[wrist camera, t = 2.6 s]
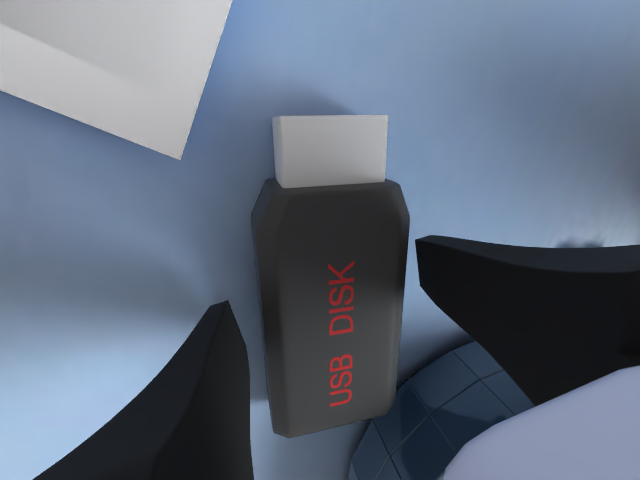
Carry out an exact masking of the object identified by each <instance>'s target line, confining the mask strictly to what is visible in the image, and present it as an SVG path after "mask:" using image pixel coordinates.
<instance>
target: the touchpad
mask: <svg viewBox="0 0 640 480" xmlns="http://www.w3.org/2000/svg"><path fill="white" fill-rule="evenodd" d="M232 1H233V0H0V90H1V91H3V92H6V93H8V94H11V95H14V96H16V97H19V98H21V99H24V100H26V101H29V102H32V103H34V104H37V105H39V106H42V107H44V108H47V109H50V110H52V111H55V112H57V113H60V114H62V115H65V116H68V117H70V118H73V119H75V120H78V121H80V122H83V123H86V124H88V125H91V126H93V127H96V128H98V129H101V130H104V131H106V132H109V133H111V134H114V135H116V136H119V137H122V138H124V139H127V140H129V141H132V142H134V143H137V144H140V145H142V146H145V147H147V148H150V149H152V150H155V151H158V152H160V153H163V154H165V155H168V156H170V157H173V158H175V159H178V160H181V157H182V154H183V151H184V147H185V144H186V141H187V138H188V135H189V132H190V129H191V126H192V123H193V120H194V117H195V114H196V111H197V108H198V105H199V102H200V99H201V96H202V93H203V90H204V87H205V84H206V80H207V77H208V74H209V71H210V68H211V65H212V62H213V59H214V56H215V53H216V50H217V47H218V44H219V41H220V38H221V35H222V32H223V29H224V26H225V23H226V20H227V16H228V13H229V10H230V7H231V4H232Z"/></svg>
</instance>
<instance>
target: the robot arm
mask: <svg viewBox="0 0 640 480" xmlns="http://www.w3.org/2000/svg"><path fill="white" fill-rule="evenodd" d="M415 244H416V253H417V262H418V271H419V280H420V286H421V287H422V289H423V290H424V291H425V292H426V294H427V295H428V296H429V297H430V299H431V300H432V301H433V302H434V303H435V304H436V305H437V306H438V307H439V308H440V309H441V310H442V311H443V312H444V313H445V314H446V315H448V316H449V317H450V318H451V319H452V320H453V321H454V322H455V323H456V324H458V325H459V326H460V327H461V328H462V329H463V330H464V331H465V332H467V333H468V334H469V335H470V336H471V337H472V338H473V339H474V340H475V341H477V342H478V343H479V344H480V345H481V346H482V347H483V348H484V349H485V350H486V351H487V352H488V353H489V354H490V355H491V356H492V357H493V358H494V359H495V361H496V362H497V363H498V364H499V365H500V366H501V367H502V368H503V369H504V370H505V372H506V373H507V374H508V375H509V376H510V377H511V378H512V380H513V381H514V382H515V383H516V384H517V385H518V387H519V388H520V389H521V390H522V391H523V392H524V394H525V395H526V396H527V397H528V398H529V399H530V401H531V402H532V403H533V404H534V406H535V407H534V408H532V409H529V410H527V411H525V412H523V413H520V414H518V415H516V416H513V417H511V418H509V419H507V420H504V421H502V422H500V423H498V424H495V425H493V426H492V427H490V428H489V429H487V430H486V431H484V432H483V433H481V434H479V435H478V436H476V437H475V438H473V439H472V440H470V441H469V442H467V443H466V444H465V445H464V446H463V447H462V449H461V450H460V451H459V452H458V454H457V455H456V456H455V457H454V459H453V460H452V461H451V462H450V464H449V465H448V466H447V467H446V469H445V473H444V478H443V480H640V245H629V246H616V247H598V248H541V247H523V246H512V245H503V244H494V243H487V242H480V241H473V240H466V239H460V238H453V237H446V236H436V235H429V236H426V237H423V238H420V239H417V240H415ZM33 480H254V476H253V466H252V457H251V446H250V371H249V363H248V356H247V349H246V345H245V342H244V340H243V337H242V335H241V332H240V329H239V327H238V324H237V322H236V319H235V317H234V314H233V312H232V309H231V306H230V304H229V301H228V300H227V301H224V302H221V303H218V304H215V305H211V306H210V307H209V308H208V310H207V311H206V312H205V314H204V315H203V317H202V318H201V320H200V321H199V322H198V324H197V325H196V327H195V328H194V330H193V331H192V332H191V334H190V335H189V337H188V338H187V339H186V341H185V342H184V343H183V345H182V346H181V347H180V348H179V350H178V351H177V352H176V353H175V355H174V356H173V357H172V358H171V360H170V361H169V362H168V363H167V365H166V366H165V367H164V368H163V369H162V370H161V371H160V372H159V374H158V375H157V376H156V377H155V378H154V379H153V380H152V381H151V382H150V383H149V384H148V385H147V386H146V387H145V388H144V389H143V390H142V391H141V392H140V393H139V394H138V395H137V396H136V397H135V398H134V399H133V400H132V401H131V402H130V403H128V404H127V405H126V406H125V407H124V408H123V409H122V410H121V411H120V412H119V413H118V414H116V415H115V416H114V417H113V418H112V419H111V420H110V421H109V422H107V423H106V424H105V425H104V426H103V427H101V428H100V429H99V430H98V431H97V432H95V433H94V434H93V435H92V436H91V437H89V438H88V439H87V440H85V441H84V442H83V443H82V444H80V445H79V446H78V447H77V448H75V449H74V450H73V451H71V452H70V453H69V454H67V455H66V456H65V457H63V458H62V459H61V460H59V461H58V462H57V463H55V464H54V465H53V466H51V467H50V468H48V469H47V470H45V471H44V472H43V473H41V474H40V475H38V476H37V477H35V478H34V479H33Z"/></svg>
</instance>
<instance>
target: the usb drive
mask: <svg viewBox="0 0 640 480" xmlns="http://www.w3.org/2000/svg"><path fill="white" fill-rule="evenodd" d="M272 128H273V144H274V159H275V174H276V179H267V180H266V181H265V182H264V185H263V187H262V189H261V192H260V194H259V196H258V199H257V201H256V203H255V206H254V208H253V211H252V214H251V222H252V234H253V245H254V255H255V266H256V276H257V286H258V297H259V307H260V317H261V328H262V338H263V348H264V359H265V369H266V380H267V390H268V399H269V407H270V415H271V422H272V428H273V432H274V433H275V434H279V435H281V436H284V437H287V438H293V437H297V436H301V435H306V434H310V433H314V432H318V431H322V430H326V429H330V428H334V427H338V426H342V425H346V424H350V423H354V422H359V421H363V420H367V419H371V418H375V417H379V416H383V415H385V414H387V412H388V411H389V410H390V408H391V407H392V406H393V404H394V401H395V394H396V385H397V372H398V360H399V348H400V336H401V323H402V311H403V299H404V287H405V274H406V262H407V250H408V237H409V223H410V217H409V212H408V209H407V206H406V203H405V200H404V197H403V193H402V190H401V187H400V185H399V184H397V183H396V182H393V181H390V180H387V179H385V170H386V150H387V131H388V115H318V116H277V117H273V118H272Z"/></svg>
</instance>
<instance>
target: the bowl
mask: <svg viewBox="0 0 640 480" xmlns="http://www.w3.org/2000/svg"><path fill="white" fill-rule="evenodd" d="M534 407H535V406H534V404H533V403H532V402H531V401H530V399H529V398H528V397H527V396H526V395H525V394H524V392H523V391H522V390H521V389H520V388H519V387H518V385H517V384H516V383H515V382H514V381H513V380H512V378H511V377H510V376H509V375H508V374H507V373H506V372H505V370H504V369H503V368H502V367H501V366H500V365H499V364H498V363H497V362H496V361H495V359H494V358H493V357H492V356H491V355H490V354H489V353H488V352H487V351H486V350H485V349H484V348H483V347H482V346H481V345H480V344H479V343H478V342H477V341H473V342H470V343H467V344H465V345H463V346H460V347H458V348H456V349H454V350H451V351H449V352H448V353H446V354H444V355H442V356H441V357H439V358H437V359H435V360H434V361H432V362H431V363H429V364H428V365H427V366H425V367H424V368H422V369H421V370H419V371H418V372H417V373H416V374H414V375H413V376H412V377H411V378H410V379H408V380H407V381H406V382H405V383H404V384H403V385H402V386H401V387H400V388H399V389H398V390H397V391H396V394H395V401H394V404H393V406H392V407H391V408H390V410H389V411H388V412H387V414H385V415H383V416H379V417H375V418H373V420H372V421H371V423H370V425H369V427H368V428H367V430H366V432H365V434H364V436H363V438H362V440H361V441H360V443H359V445H358V447H357V449H356V451H355V452H354V454H353V456H352V459H351V463H350V469H349V476H348V480H443V478H444V473H445V469H446V467H447V466H448V465H449V464H450V462H451V461H452V460H453V459H454V457H455V456H456V455H457V454H458V452H459V451H460V450H461V449H462V447H463V446H464V445H465V444H466V443H467V442H469V441H470V440H472V439H473V438H475V437H476V436H478V435H479V434H481V433H483V432H484V431H486V430H487V429H489V428H490V427H492V426H493V425H495V424H498V423H500V422H502V421H504V420H507V419H509V418H511V417H513V416H516V415H518V414H520V413H523V412H525V411H527V410H529V409H532V408H534Z"/></svg>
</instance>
